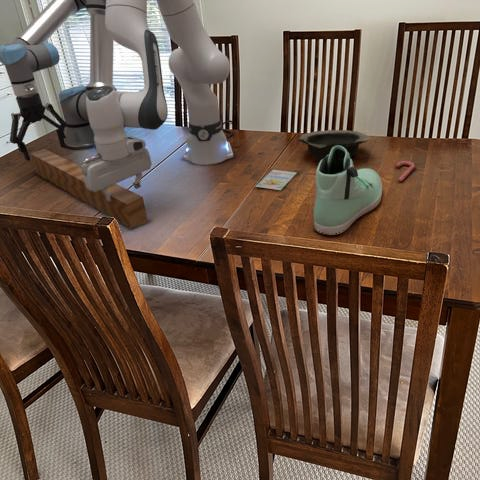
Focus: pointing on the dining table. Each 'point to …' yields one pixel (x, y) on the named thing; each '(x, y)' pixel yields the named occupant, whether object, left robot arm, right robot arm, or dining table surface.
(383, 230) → the dining table surface
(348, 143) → the stone bowl
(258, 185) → the baking ingredient package
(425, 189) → the dining table surface
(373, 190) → the sneaker
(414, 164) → the candy cane
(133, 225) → the beam
